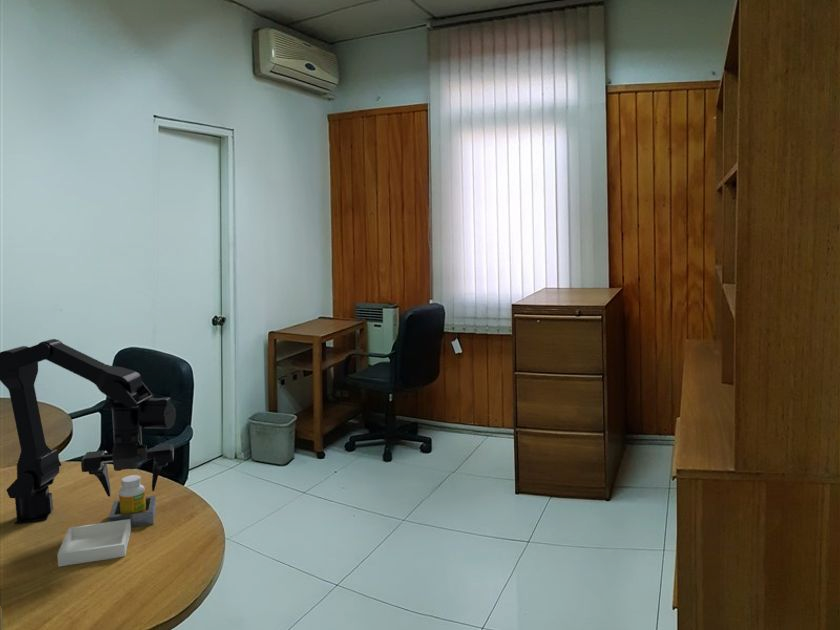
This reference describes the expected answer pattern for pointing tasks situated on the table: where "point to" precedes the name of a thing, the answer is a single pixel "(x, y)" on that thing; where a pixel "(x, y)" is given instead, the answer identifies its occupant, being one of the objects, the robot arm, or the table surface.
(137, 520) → the can holder
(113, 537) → the tray
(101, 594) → the table surface
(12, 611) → the table surface
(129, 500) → the supplement bottle
